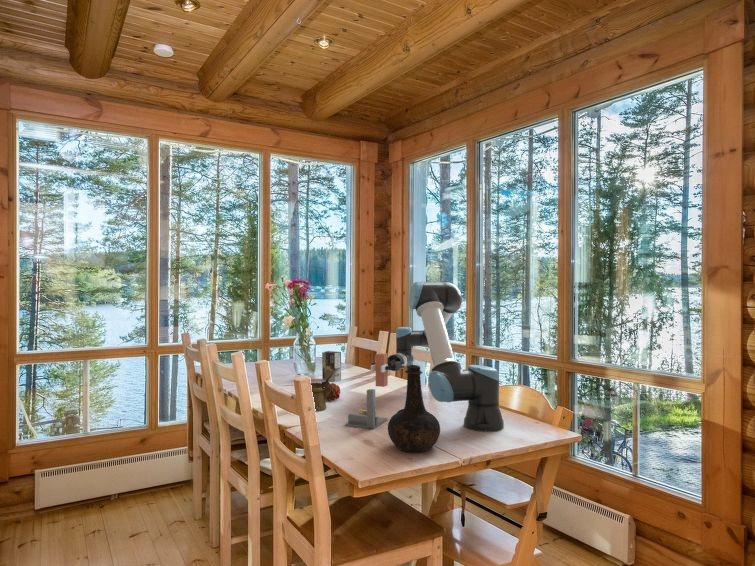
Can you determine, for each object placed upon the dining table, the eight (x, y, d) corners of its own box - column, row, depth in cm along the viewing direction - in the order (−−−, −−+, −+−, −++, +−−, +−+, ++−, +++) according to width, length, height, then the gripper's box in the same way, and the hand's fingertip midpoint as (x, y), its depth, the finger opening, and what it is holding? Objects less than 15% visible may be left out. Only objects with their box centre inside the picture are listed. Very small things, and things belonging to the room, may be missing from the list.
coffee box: (341, 380, 294) (341, 351, 294) (334, 382, 289) (334, 353, 289) (328, 378, 299) (328, 350, 299) (321, 380, 294) (321, 352, 294)
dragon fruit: (331, 406, 240) (329, 404, 252) (345, 394, 242) (342, 392, 254) (320, 391, 241) (318, 390, 252) (334, 380, 242) (332, 379, 254)
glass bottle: (421, 437, 188) (421, 359, 188) (451, 451, 172) (451, 367, 172) (378, 444, 179) (377, 363, 179) (405, 460, 164) (404, 371, 163)
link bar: (379, 384, 231) (379, 353, 231) (387, 385, 229) (387, 353, 229) (375, 386, 227) (375, 354, 227) (384, 386, 226) (383, 354, 226)
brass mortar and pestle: (336, 411, 225) (336, 369, 225) (305, 412, 224) (304, 370, 224) (336, 406, 234) (335, 366, 234) (305, 407, 233) (305, 366, 233)
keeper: (360, 417, 215) (360, 381, 215) (387, 420, 211) (387, 383, 211) (344, 426, 202) (344, 388, 202) (372, 429, 197) (372, 390, 197)
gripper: (413, 370, 241) (395, 379, 220) (379, 369, 248) (358, 376, 227) (413, 354, 241) (394, 361, 220) (379, 353, 248) (358, 359, 227)
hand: (376, 369), depth 223 cm, fingers closed on link bar, 4 cm apart
